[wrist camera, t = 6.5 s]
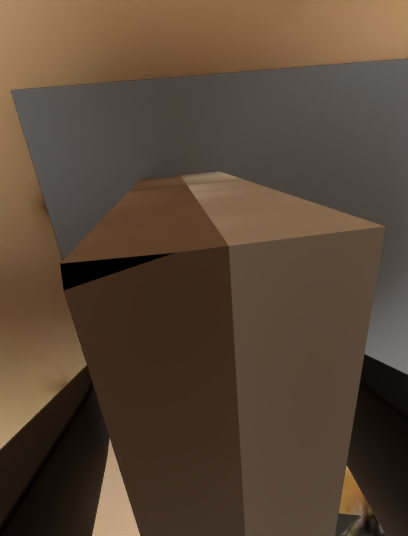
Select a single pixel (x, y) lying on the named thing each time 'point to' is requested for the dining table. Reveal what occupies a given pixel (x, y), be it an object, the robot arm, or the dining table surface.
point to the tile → (226, 351)
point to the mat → (239, 153)
